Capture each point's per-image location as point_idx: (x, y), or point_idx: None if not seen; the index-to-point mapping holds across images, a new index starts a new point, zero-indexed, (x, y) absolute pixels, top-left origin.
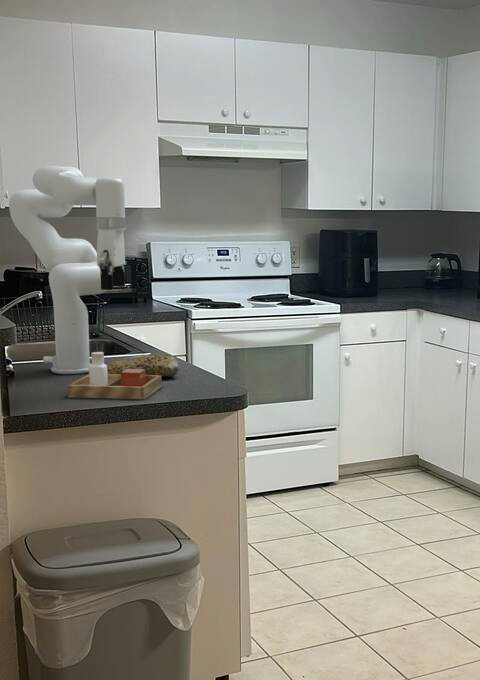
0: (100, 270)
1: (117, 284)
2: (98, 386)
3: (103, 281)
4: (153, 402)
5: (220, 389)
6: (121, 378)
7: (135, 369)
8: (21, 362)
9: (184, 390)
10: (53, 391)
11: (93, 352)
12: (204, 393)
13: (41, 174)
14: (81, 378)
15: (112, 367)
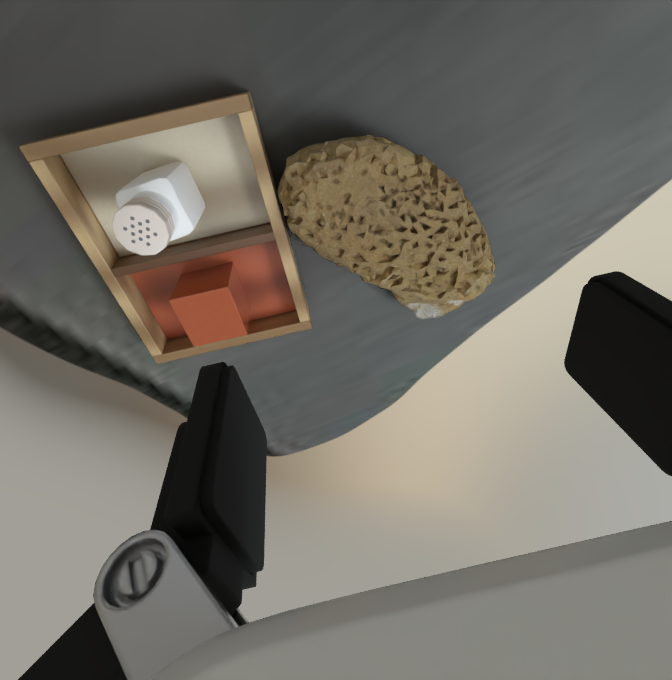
0: (105, 621)
1: (587, 326)
2: (88, 255)
3: (173, 469)
4: (152, 373)
5: (326, 416)
6: (173, 291)
7: (230, 314)
8: None
9: (291, 369)
10: (74, 4)
11: (137, 208)
12: (280, 409)
13: None
14: (151, 119)
15: (292, 183)
